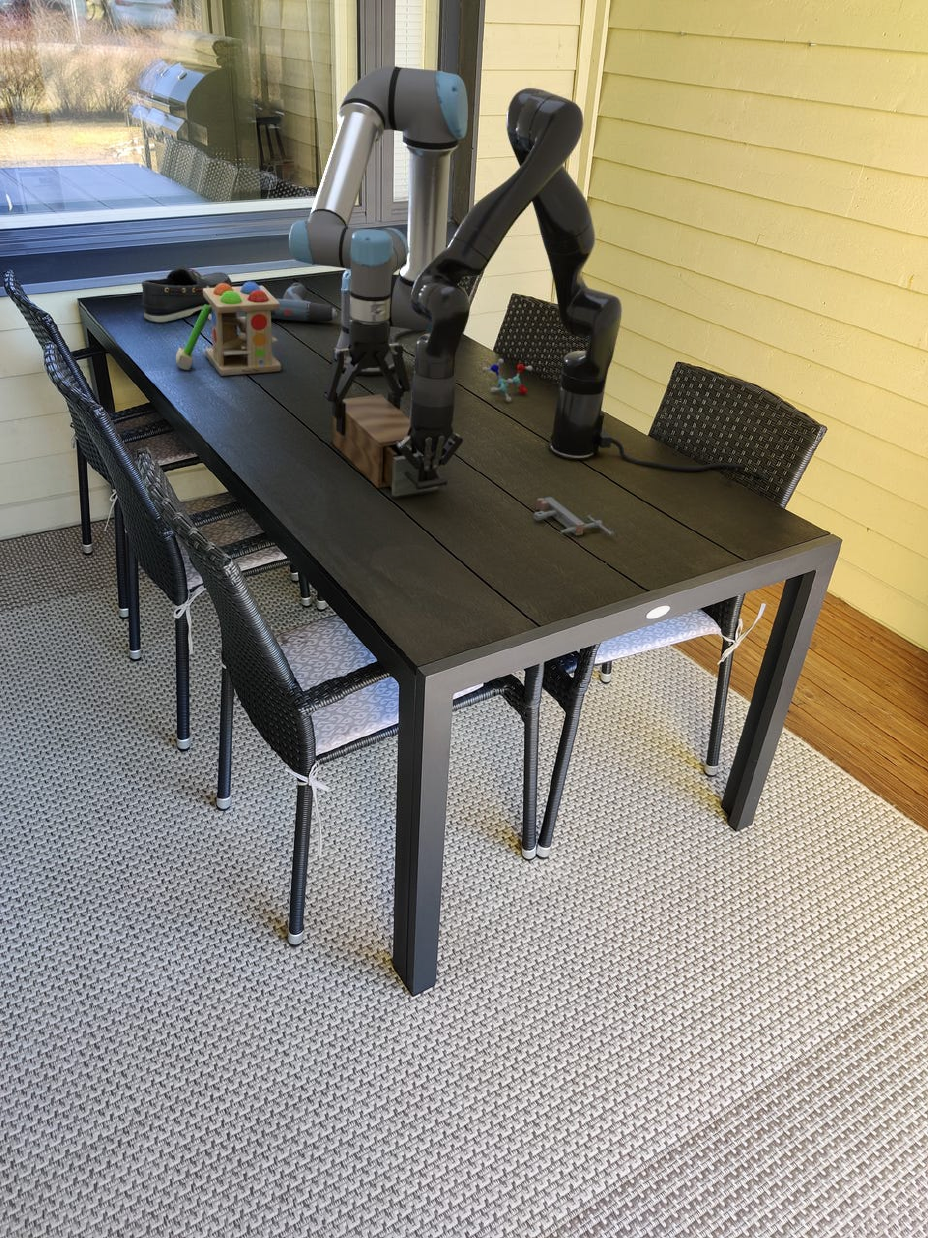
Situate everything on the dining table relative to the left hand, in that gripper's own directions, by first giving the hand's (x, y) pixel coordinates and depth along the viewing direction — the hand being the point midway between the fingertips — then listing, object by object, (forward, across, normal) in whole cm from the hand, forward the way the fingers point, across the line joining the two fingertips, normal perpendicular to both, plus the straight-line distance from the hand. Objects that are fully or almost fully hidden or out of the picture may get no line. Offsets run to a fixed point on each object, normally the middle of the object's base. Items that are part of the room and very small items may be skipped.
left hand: (366, 428), depth 196 cm
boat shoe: (+4, -6, +97) cm, 98 cm away
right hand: (+1, 0, -26) cm, 26 cm away
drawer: (+4, 0, -15) cm, 16 cm away
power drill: (+4, +22, +84) cm, 87 cm away
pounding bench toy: (+4, -12, +53) cm, 54 cm away
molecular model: (+4, +43, +16) cm, 46 cm away
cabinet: (+4, 0, -6) cm, 7 cm away
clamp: (+4, +21, -42) cm, 47 cm away
